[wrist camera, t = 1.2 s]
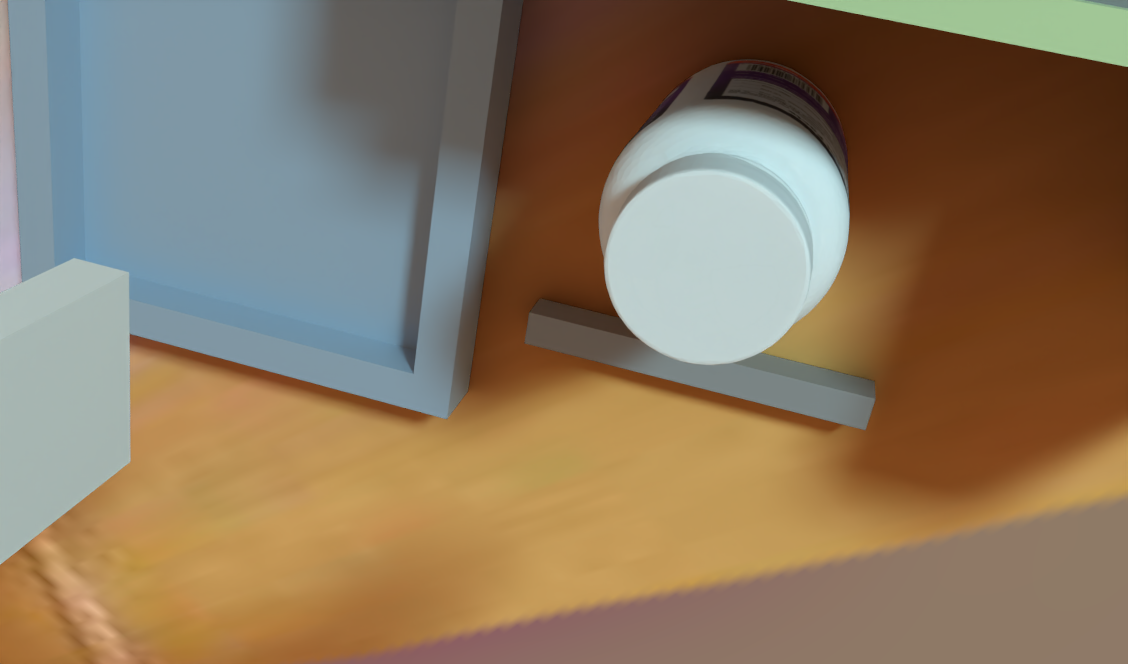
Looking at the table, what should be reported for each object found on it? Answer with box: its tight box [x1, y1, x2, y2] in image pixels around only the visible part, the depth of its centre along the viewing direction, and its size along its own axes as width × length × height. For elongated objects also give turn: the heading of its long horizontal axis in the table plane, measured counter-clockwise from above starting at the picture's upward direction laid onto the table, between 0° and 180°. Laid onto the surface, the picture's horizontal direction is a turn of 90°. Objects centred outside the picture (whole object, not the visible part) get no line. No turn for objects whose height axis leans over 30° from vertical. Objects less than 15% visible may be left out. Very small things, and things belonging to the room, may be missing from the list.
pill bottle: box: [599, 59, 850, 365], centre depth 25 cm, size 5×5×10 cm
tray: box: [8, 0, 523, 419], centre depth 31 cm, size 14×14×2 cm
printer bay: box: [525, 0, 1128, 430], centre depth 23 cm, size 21×18×11 cm
